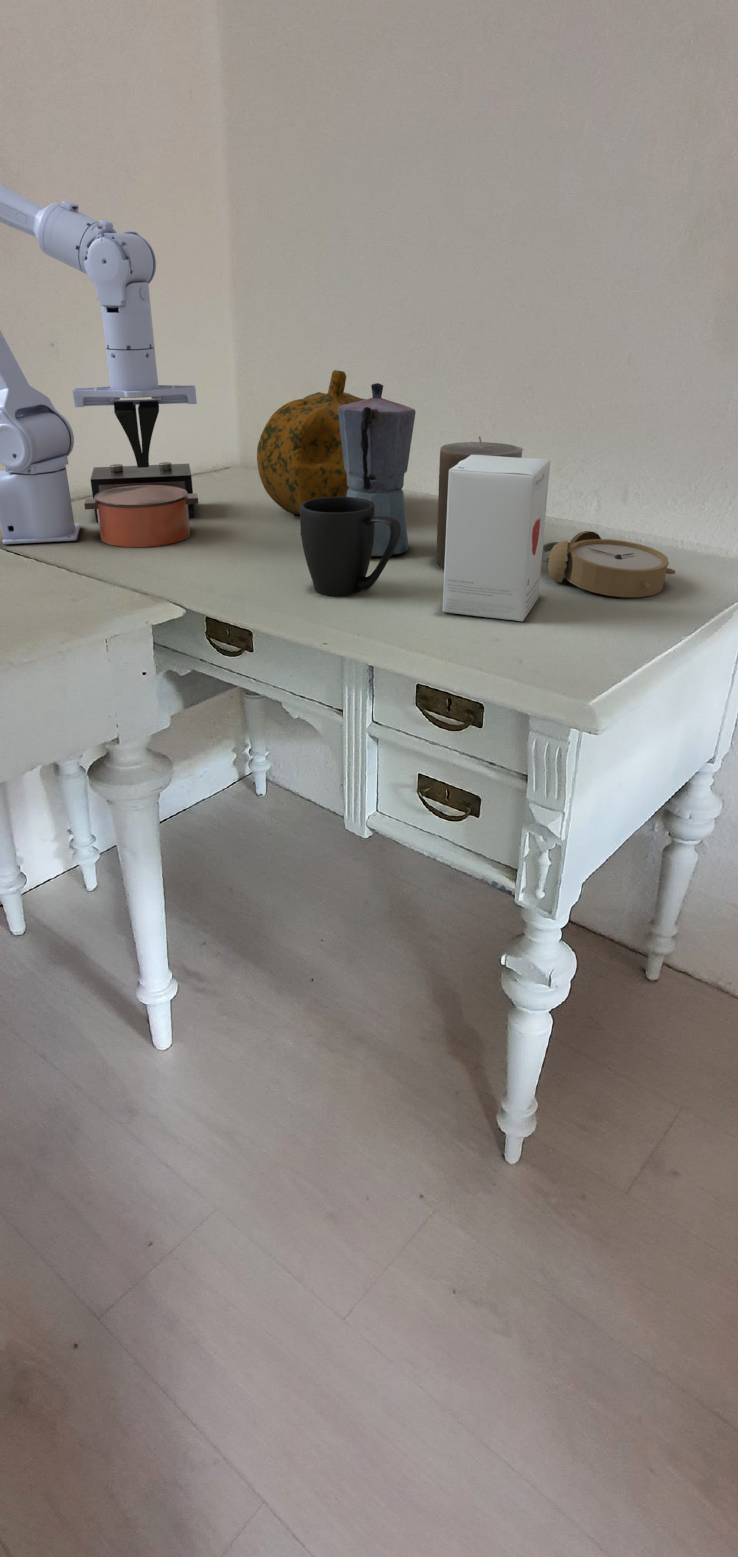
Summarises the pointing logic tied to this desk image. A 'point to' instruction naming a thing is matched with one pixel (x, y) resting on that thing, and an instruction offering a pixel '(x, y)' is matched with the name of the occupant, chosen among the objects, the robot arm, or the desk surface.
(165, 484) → the appliance
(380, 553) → the moka pot
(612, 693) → the desk surface
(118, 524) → the saucepan
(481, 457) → the rectangular carton
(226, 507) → the desk surface
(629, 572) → the alarm clock
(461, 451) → the pillar candle
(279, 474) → the decorative pumpkin
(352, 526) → the mug
